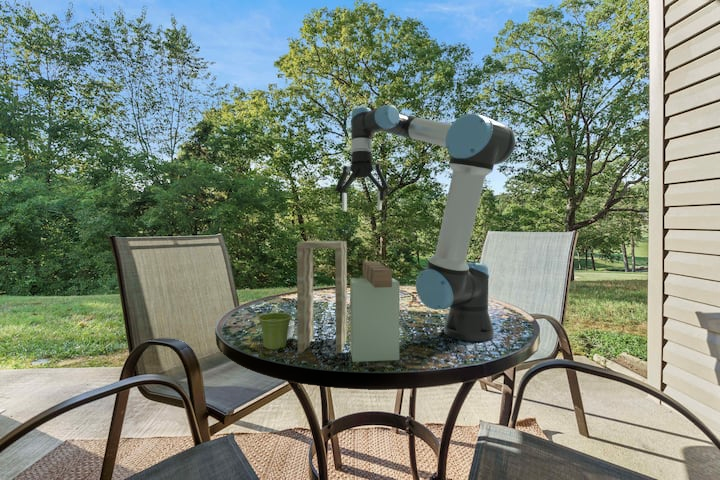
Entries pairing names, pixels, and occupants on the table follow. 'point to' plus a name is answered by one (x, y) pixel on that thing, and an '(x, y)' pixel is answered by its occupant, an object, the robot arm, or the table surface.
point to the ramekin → (290, 329)
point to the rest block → (374, 321)
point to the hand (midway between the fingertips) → (361, 210)
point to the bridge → (307, 291)
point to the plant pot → (275, 329)
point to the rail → (377, 274)
